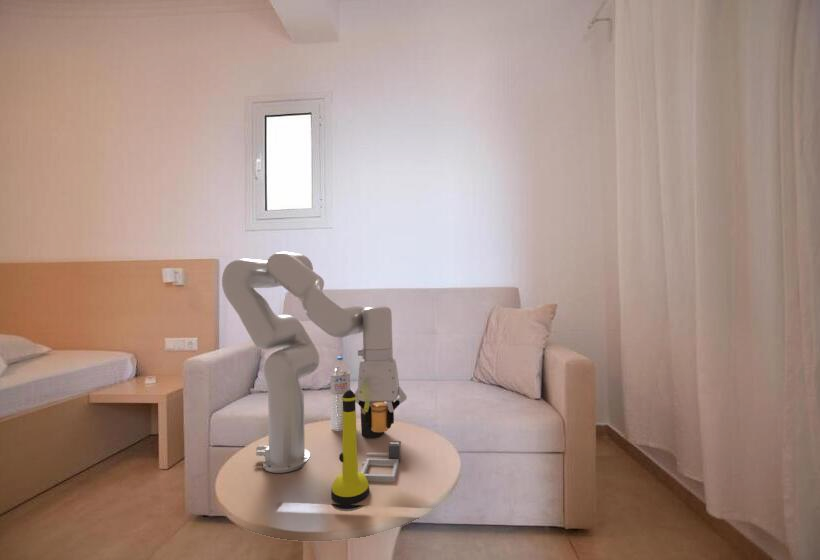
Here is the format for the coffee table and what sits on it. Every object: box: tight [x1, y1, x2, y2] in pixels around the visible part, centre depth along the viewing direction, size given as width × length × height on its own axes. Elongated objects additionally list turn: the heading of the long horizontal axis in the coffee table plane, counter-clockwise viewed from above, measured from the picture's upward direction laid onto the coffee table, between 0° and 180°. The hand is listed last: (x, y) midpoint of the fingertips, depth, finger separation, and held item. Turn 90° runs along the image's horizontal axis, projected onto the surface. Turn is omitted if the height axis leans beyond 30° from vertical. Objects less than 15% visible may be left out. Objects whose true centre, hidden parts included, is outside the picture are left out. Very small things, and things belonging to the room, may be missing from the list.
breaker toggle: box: [388, 440, 402, 464], centre depth 96 cm, size 3×3×5 cm
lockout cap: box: [371, 402, 390, 433], centre depth 91 cm, size 4×4×6 cm
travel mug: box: [360, 402, 385, 440], centre depth 114 cm, size 8×8×20 cm
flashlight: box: [330, 389, 370, 512], centre depth 82 cm, size 25×9×9 cm
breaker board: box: [360, 452, 400, 483], centre depth 93 cm, size 14×14×3 cm
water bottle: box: [329, 356, 351, 432], centre depth 120 cm, size 7×7×25 cm
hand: (379, 425), depth 91 cm, fingers closed on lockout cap, 4 cm apart
